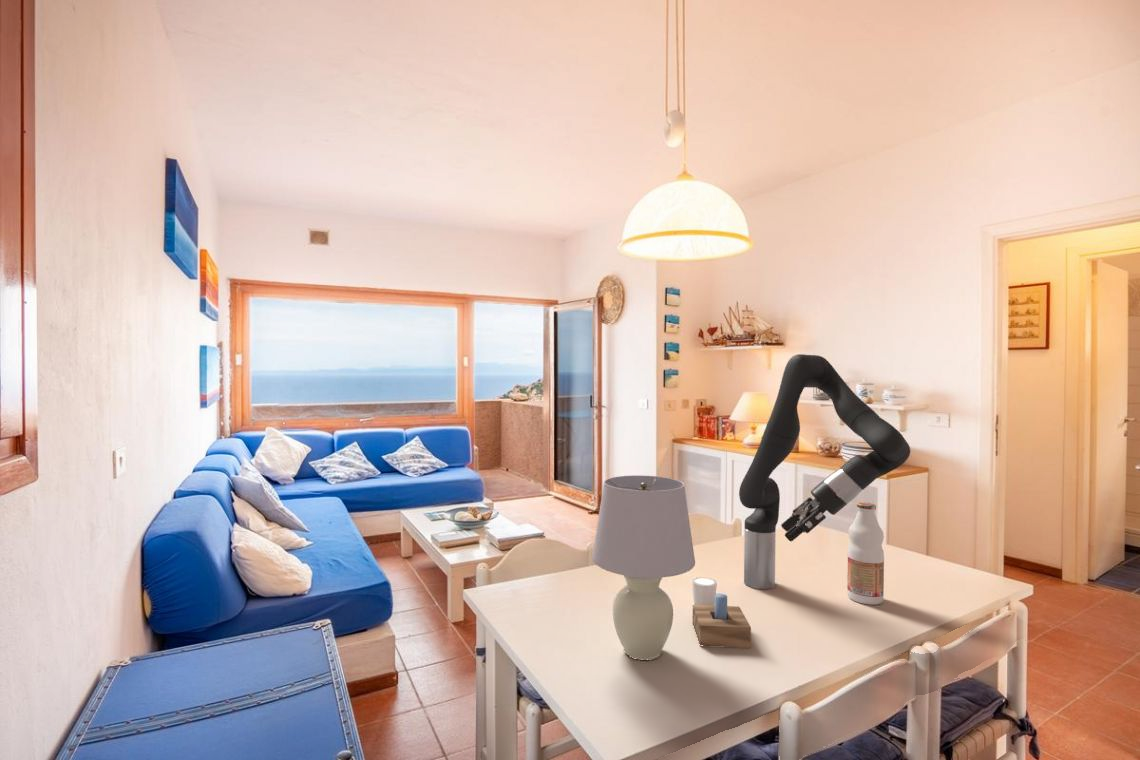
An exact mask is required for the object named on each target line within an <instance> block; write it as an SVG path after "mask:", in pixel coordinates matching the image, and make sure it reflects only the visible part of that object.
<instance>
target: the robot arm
mask: <svg viewBox="0 0 1140 760" xmlns="http://www.w3.org/2000/svg"><path fill="white" fill-rule="evenodd" d="M805 388H811V389H812V388H813V389H814V388H817V389H818V390H820V391H821V392H823V393H824V394H825V395H827V396H828V397H829V399H830V400H831V402H832V404H833V407H834V410H835V412H836V415H837V416H838V418H839V419H840V420H841V421H842V422H843V423H844V424H845V425H846V426H847V427H848V428H849V429H850V430H851V431H852V432H853V433H854V434H856V435H857V436H858V437H860V438H862V439H863V440H864V441H865V443H866V444H868V446H869V447H870V448H871V449H872V451H870V452H869V453H868V454H866V455H860V454H857V455H854V456H852V457H851V458H850V459H848V460H847V461H846V462H845V463H844V464H843V465H841V466H840V467H839V468H837V469H836V470H834V471H833V472H831V473H830V474H829V475H828V476H827V477H825V479H823V480H822V481H820V482H819V483H818V484H817V485H816V486H815V487H814V488H812V489H811V490H810V494H811V495H812V496H813V497H814V498H812V497H811V496H810V497H808V498H806V500H804V501H803V502H802V503H801V504H799V505H798V506H797V507H796V508H794V509H793V510H792V513H791V515H790V516H789V517H788V518H787V519H786V520H784V522H782V523H781V525H780V526H781V528H782V529H783V530H784V531H785V533H784V536H785V538H786V539H787V540H788V541H790V542H793V541H795V540H796V539H797V538H798V537H799V536H800V535H802V534H803V533H804V534H805V533H806V534H808V533H810V532H811V531H812V530H813V529H815V528H816V527H817V526H818V525H819V524H820V523H822V522H823V521H824V520H825V519H826V518H827V516H826V515H825V512H828V513H829V514H830V515H832V516H834V515H837V513H838V512H840V511H841V510H842V509H843V508H845V507H846V506H847V505H848V504H849V503H850V502H852V501H853V500H854V499H856V498H857V496H858V495H859V494H860V493H861V492H862V491H863V490H865V489H866V488H867V487H869V485H871V484H872V483H873V482H875V480H877V479H878V478H880V477H883V476H885V475H887V474H889V473H890V472H892V471H894V470H896V469H899V467H901V466H902V465H904V463H905V462H906V461H908V459H909V457H910V455H911V446H910V444H909V443H908V441H907V440H906V439H905V438H904V436H903V434H902V433H901V432H900V431H899V430H898V429H897V428H896V427H894V425H892V424H890V423H889V422H888V421H887V420H885V419H883V418H882V417H881V416H879V415H878V413H877V412H876V411H875V410H873V409H872V408H871V407H870V406H869V405H868V404H867V403H865V402H864V401H863V400H862V399H861V398H860V397H859V396H858V395H857V394H856V393H855V392H854V391H853V390H852V389H851V388H850V387H849V385H848V384H847V382H845V381H844V379H843V378H842V377H841V376H840V374H839V373H838V371H837V370H836V369H835V368H834V366H833V365H832V364H831V363H830V361H828V360H827V359H826V358H825V357H823V356H821V355H817V354H803V353H801V354H795V355H792V356H791V357H790V358H789V359H788V361H787V363H786V365H785V367H784V371H783V374H782V378H781V381H780V385H779V389H778V393H777V396H776V400H775V402H774V405H773V408H772V410H771V413H770V417H769V418H768V421H767V423H766V426H765V429H764V431H763V434H762V437H761V438H760V439H761V440H760V443H759V445H758V448H757V450H756V452H755V454H754V458H753V460H752V461H751V464H750V465H749V467H748V470H747V471H746V474H745V475H744V477H743V479H742V481H741V484H740V486H739V492H738V496H739V500H740V503H741V505H742V506H743V507H745V508H747V509H751V510H752V509H753V510H754V511H753V512H752V513H751V514H750V515H749V516H747V517H746V518H745V520H744V535H743V536H744V538H743V540H744V544H743V545H744V546H743V549H744V550H743V551H744V552H743V554H744V555H743V557H744V559H743V583H744V584H745V585H746V586H748V587H750V588H753V589H759V590H771V589H773V588H775V586H776V538H777V537H776V535H777V534H776V531H777V530H776V527H777V524H778V522H779V515H780V501H781V500H780V499H781V497H780V496H781V494H780V493H781V492H780V488H779V485H778V483H777V481H775V479H773V478H772V477H771V475H772V474H773V472H774V471H775V469H776V468H777V467H779V466H780V465H781V464H782V462H784V461H785V460H786V458H788V456H789V455H790V454H791V453H792V452H793V449H794V447H795V444H796V443H797V441H798V438H799V436H800V432H801V423H800V417H799V412H798V405H799V401H800V399H801V395H802V393H803V392H804V389H805Z"/></svg>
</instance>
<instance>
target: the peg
mask: <svg viewBox="0 0 1140 760" xmlns="http://www.w3.org/2000/svg"><path fill="white" fill-rule="evenodd" d="M727 606H728V595H726V594H724V593H716V594H715V619H721V620H727Z"/></svg>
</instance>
